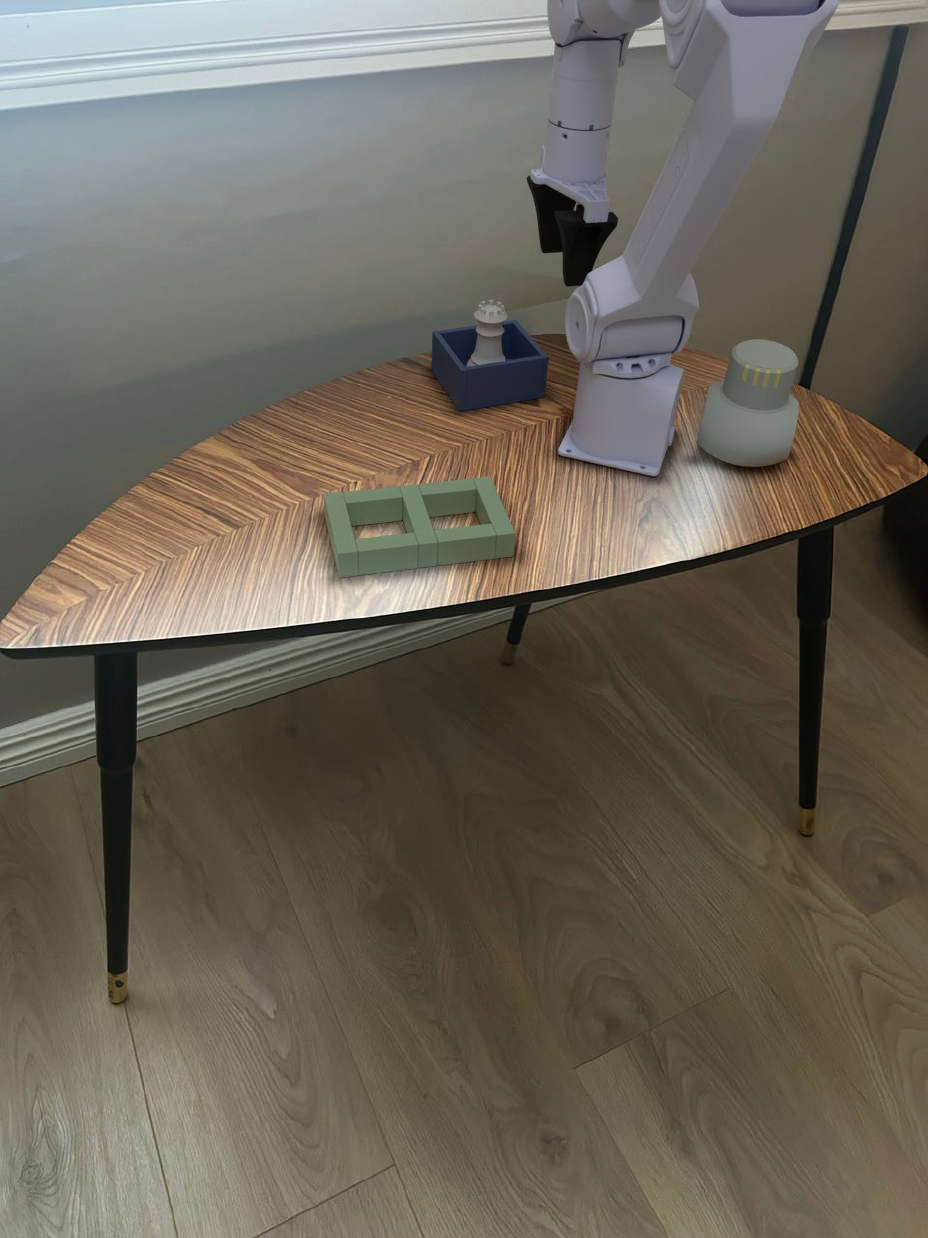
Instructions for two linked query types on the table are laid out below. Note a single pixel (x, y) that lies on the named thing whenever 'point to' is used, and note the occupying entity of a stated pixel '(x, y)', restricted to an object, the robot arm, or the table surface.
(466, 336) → the bin
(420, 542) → the frame
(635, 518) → the table surface
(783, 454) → the air freshener
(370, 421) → the table surface
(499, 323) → the rook chess piece
